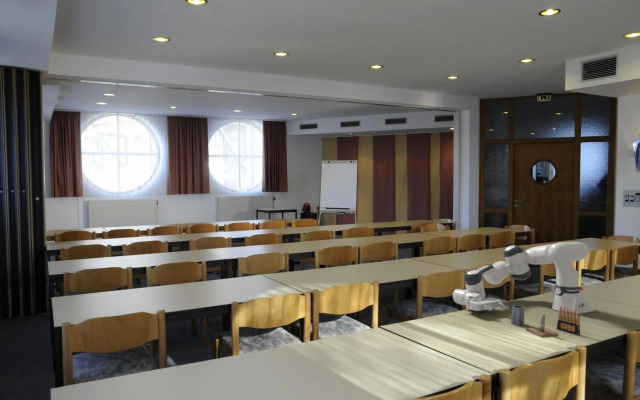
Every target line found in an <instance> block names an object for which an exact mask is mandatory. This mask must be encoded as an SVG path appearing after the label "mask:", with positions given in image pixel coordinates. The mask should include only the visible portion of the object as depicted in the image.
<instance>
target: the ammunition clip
mask: <svg viewBox="0 0 640 400" xmlns="http://www.w3.org/2000/svg"><path fill="white" fill-rule="evenodd" d="M580 315H581V314H580V313H579V310H578V312H577V314H576V311H575V309H574V312H573V313H572V309H570V313H569V310H568V308H567V310H566V312H565V307H563V312H562V308H561V306H560V308H559V311H558V316H557V325H556V330H557V331H560V332H564V333H568V334H571V335H575V336H580V335H581V323H580V322H581V319H580V318H581V317H580Z"/></svg>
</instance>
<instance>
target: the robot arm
mask: <svg viewBox="0 0 640 400" xmlns="http://www.w3.org/2000/svg"><path fill="white" fill-rule="evenodd" d="M589 252H590V251H589V247H588V246H587V244H586V243H584V242H580V241H564V242H563V241H562V242H557V243H552V244H544V245H538V246H537V245H536V246H533V247H530V248H527V249H526V250H525V248H524V247H521V246H518V245H515V244H514V245H509V246H507V247H506V248H504V249H503V252H502V254H503V257H504V258H505V261H504V260H499V261H497V262H495V263H493V264H484V265H482V266H479V267H477V268H475V269H472V270H468V271H467V272H466V273H465V274H464V276H463V280H464V283H465V287H466V289H463V288H462V289H460V288H455V289H454V291H453V293H452V298H453V301H454V302H455V303H456V304H458V305H461V306H463V307H465V308H466V310H470V311H475V312H480V311H493V309H495V308H499V309H504V308H505V304H503V301H502V299H499V298H493V297H486V293H485V292H486V291H485V288H484V287H485V286H484V281H483V279H484V280H485V281H486V282H487V283H489V284H491V285H499V284H501V283H502V282H503V281H504V280H505V279H506V278H507V277H508V276H510V278H511V279H514V280H517V281H525V280H527V279H529V278H530V277H531V276H532V271H531V268H530V267H529V264H530V265H547V264H548V265H549V264H550V265H551V264H554V266H555V271H556V276H555V277H556V279H555V280H556V281H555V286H554V290H555V292H554V297H553V302H552V305H551V309H553V310H554V311H558V312H559V308H560V306H561V308H562V312H563V307H565V313H566V310H567V308H568V310H569V314H570V309H572V314H573V312H574V309H575V311H576V315H577V312H578V310H579V313H580V315H581V314H586V313H591V312H594V310H595V309H594V308H593V307H590V301H589V299H588V298H587V297H586V296H584V295H583V294H582V293H581V291H584V290H585V288H584V287H583V286H579V285H578V283H579V272H578V270H576V268H575V267H574V262H579V261H582V260H584V259H586V258H588V256H589Z"/></svg>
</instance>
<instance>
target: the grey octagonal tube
mask: <svg viewBox="0 0 640 400" xmlns="http://www.w3.org/2000/svg"><path fill="white" fill-rule="evenodd" d="M525 312H526V307H525V306H524V305H519V304H518V305H517V304H512V306H511V316H510V317H511V320H510V324H511V325H513V326H518V327H520V326H521V327H522V326H523V327H524V326H525Z"/></svg>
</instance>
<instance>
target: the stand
mask: <svg viewBox="0 0 640 400" xmlns="http://www.w3.org/2000/svg"><path fill="white" fill-rule="evenodd" d="M539 317H540V318H539V326H537V327H529V328H526V329H525V331H527V332H529V333H530V334H533V335H535V336H538V337H540V338H544V337H545V338H546V337H554V336H559V332H555V331H554V330H551V329H548V328H547V327H545V324H546V323H545V322H546V314H543V313H542V314H541V313H540V316H539Z"/></svg>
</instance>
